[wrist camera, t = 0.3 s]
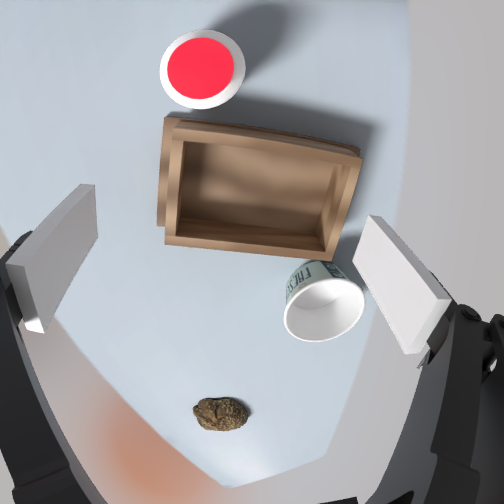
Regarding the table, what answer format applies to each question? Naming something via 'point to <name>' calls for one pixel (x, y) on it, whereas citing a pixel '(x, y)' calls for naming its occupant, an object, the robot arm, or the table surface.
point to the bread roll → (220, 414)
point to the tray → (253, 189)
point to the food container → (321, 302)
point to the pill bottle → (202, 69)
